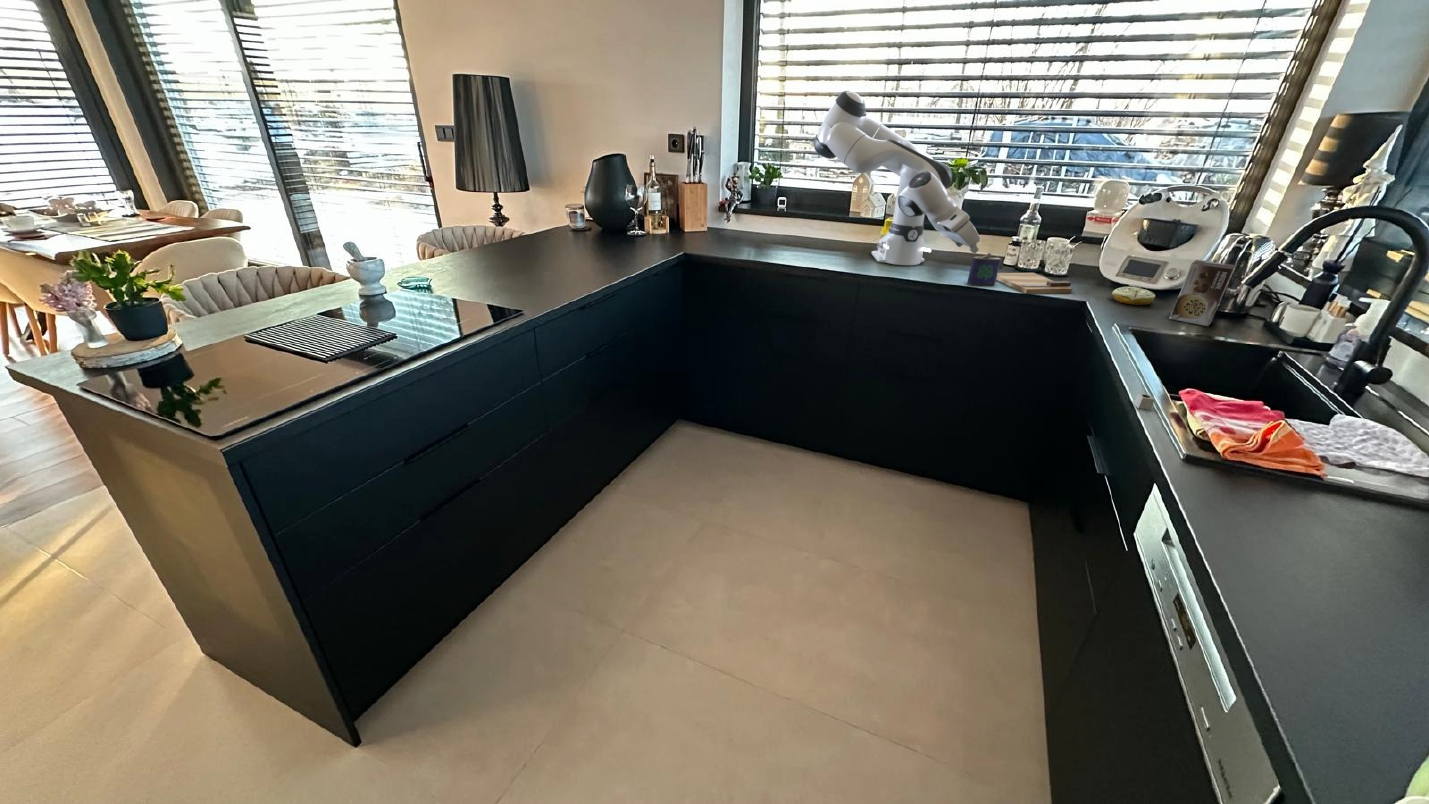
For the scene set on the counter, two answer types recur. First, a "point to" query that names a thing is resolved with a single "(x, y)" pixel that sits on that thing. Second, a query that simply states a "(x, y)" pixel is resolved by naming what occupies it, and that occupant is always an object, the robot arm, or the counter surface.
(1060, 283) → the knife
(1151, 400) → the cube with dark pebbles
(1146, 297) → the decorated donut
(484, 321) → the counter surface
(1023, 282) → the cutting board
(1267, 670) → the counter surface
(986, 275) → the flask
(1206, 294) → the coffee box
